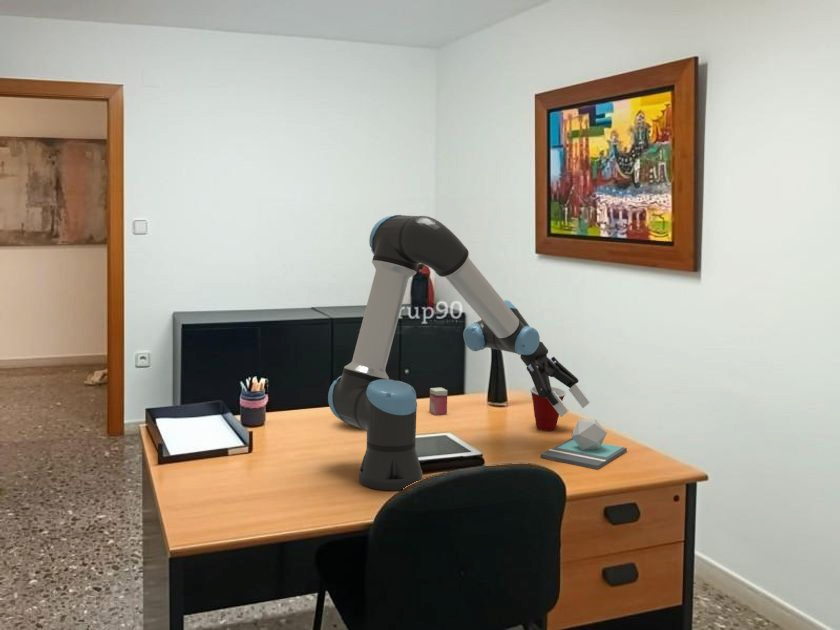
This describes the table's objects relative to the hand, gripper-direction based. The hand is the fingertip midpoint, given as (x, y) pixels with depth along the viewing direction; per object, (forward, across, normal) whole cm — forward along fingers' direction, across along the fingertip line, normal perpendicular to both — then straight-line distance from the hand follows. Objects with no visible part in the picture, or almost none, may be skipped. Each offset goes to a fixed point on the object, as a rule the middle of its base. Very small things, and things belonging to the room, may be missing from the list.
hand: (576, 409), depth 221 cm
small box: (-28, -9, -45) cm, 54 cm away
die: (+10, 0, -4) cm, 11 cm away
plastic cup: (-3, -14, -19) cm, 24 cm away
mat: (+11, +3, -5) cm, 12 cm away
